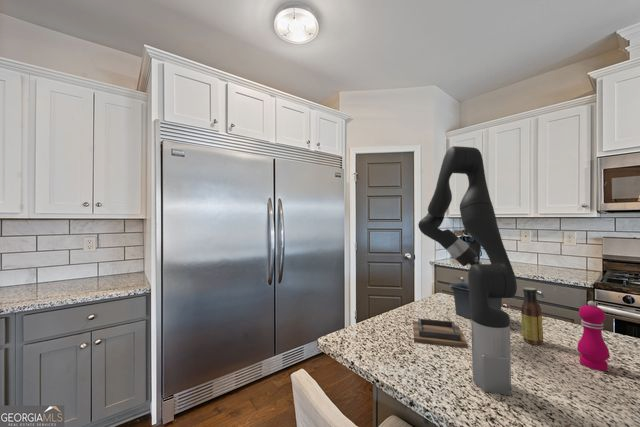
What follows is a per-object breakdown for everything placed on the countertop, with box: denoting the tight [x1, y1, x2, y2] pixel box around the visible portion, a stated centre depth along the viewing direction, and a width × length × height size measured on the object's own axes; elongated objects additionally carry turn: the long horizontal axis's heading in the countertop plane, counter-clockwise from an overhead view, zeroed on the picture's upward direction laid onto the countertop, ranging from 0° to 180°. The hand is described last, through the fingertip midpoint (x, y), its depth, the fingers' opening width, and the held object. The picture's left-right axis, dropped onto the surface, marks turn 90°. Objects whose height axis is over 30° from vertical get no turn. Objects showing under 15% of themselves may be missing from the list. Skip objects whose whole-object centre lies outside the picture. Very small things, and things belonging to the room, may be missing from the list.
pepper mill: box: [576, 300, 610, 371], centre depth 87 cm, size 7×7×20 cm
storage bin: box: [449, 281, 503, 319], centre depth 129 cm, size 21×16×14 cm
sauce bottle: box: [520, 286, 544, 346], centre depth 104 cm, size 7×6×20 cm
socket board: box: [412, 318, 468, 349], centre depth 110 cm, size 18×18×4 cm
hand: (494, 282), depth 109 cm, fingers open, 8 cm apart
